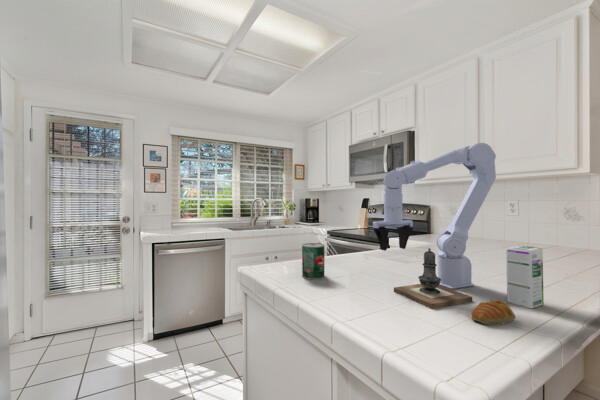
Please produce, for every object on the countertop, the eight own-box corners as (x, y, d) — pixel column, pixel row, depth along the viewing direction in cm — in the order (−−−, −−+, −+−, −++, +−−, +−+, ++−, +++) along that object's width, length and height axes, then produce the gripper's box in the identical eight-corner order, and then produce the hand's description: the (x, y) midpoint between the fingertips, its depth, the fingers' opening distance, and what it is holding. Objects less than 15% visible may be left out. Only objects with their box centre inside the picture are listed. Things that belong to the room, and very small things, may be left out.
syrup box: (532, 309, 70) (532, 250, 70) (505, 301, 75) (505, 246, 75) (544, 305, 73) (544, 248, 73) (517, 298, 78) (517, 244, 78)
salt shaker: (443, 295, 77) (443, 250, 77) (420, 293, 78) (420, 249, 78) (438, 288, 82) (438, 246, 82) (416, 287, 84) (416, 245, 84)
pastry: (494, 330, 60) (494, 312, 60) (462, 319, 65) (462, 302, 65) (517, 321, 64) (517, 304, 64) (485, 311, 70) (485, 295, 70)
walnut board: (430, 286, 89) (430, 281, 89) (472, 301, 76) (472, 296, 76) (393, 291, 84) (393, 287, 84) (431, 308, 71) (431, 303, 71)
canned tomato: (325, 279, 97) (325, 246, 97) (302, 279, 97) (301, 246, 97) (323, 273, 105) (323, 243, 105) (302, 273, 105) (302, 243, 105)
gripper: (402, 207, 101) (402, 245, 101) (367, 207, 95) (367, 248, 96) (417, 207, 94) (417, 249, 94) (380, 208, 89) (380, 252, 89)
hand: (393, 249), depth 94 cm, fingers open, 7 cm apart
